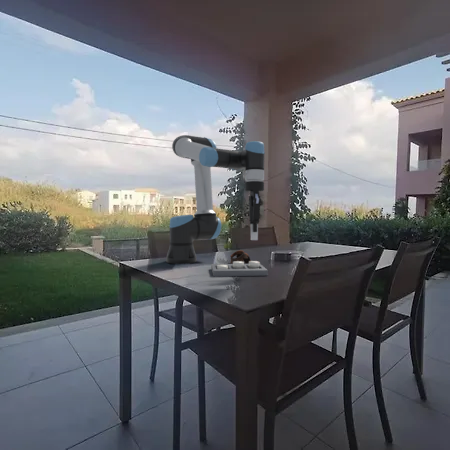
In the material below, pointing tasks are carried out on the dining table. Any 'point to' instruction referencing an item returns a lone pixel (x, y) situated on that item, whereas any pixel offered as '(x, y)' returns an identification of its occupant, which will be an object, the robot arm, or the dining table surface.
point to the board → (238, 271)
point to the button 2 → (254, 264)
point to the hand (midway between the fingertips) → (254, 239)
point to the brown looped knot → (240, 257)
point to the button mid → (238, 265)
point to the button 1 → (222, 267)
